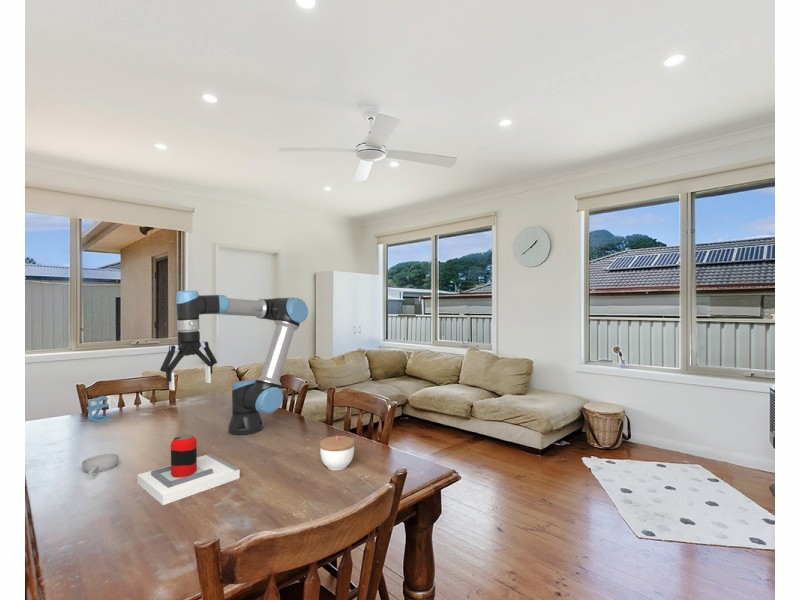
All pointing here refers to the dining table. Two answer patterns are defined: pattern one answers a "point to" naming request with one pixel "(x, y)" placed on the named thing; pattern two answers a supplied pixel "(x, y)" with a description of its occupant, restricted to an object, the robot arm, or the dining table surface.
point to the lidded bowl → (337, 451)
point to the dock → (187, 479)
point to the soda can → (183, 455)
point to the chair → (97, 409)
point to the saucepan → (100, 463)
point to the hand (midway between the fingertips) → (190, 386)
